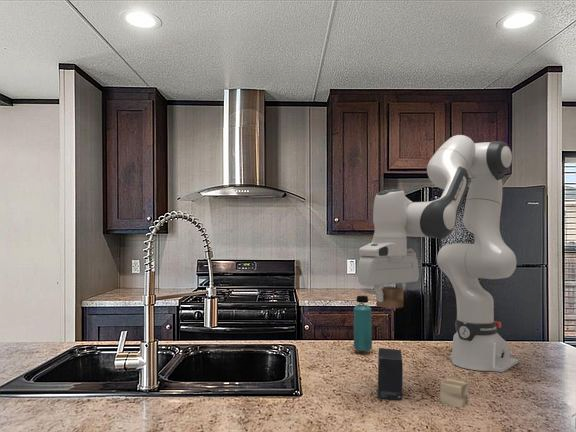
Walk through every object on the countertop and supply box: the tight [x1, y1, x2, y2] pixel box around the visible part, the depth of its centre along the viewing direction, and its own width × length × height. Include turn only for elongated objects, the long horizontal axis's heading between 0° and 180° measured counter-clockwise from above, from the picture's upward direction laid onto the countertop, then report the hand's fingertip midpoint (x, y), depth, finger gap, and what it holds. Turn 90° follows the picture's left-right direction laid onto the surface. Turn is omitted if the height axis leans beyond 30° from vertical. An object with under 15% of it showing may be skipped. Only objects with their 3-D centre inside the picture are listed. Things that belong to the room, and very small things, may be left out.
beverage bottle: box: [353, 295, 373, 352], centre depth 162 cm, size 6×7×20 cm
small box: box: [377, 347, 404, 401], centre depth 122 cm, size 11×6×10 cm, turn 168°
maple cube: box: [439, 378, 469, 409], centre depth 115 cm, size 5×5×5 cm
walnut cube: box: [376, 285, 405, 310], centre depth 123 cm, size 5×5×5 cm
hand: (389, 300), depth 123 cm, fingers closed on walnut cube, 5 cm apart
